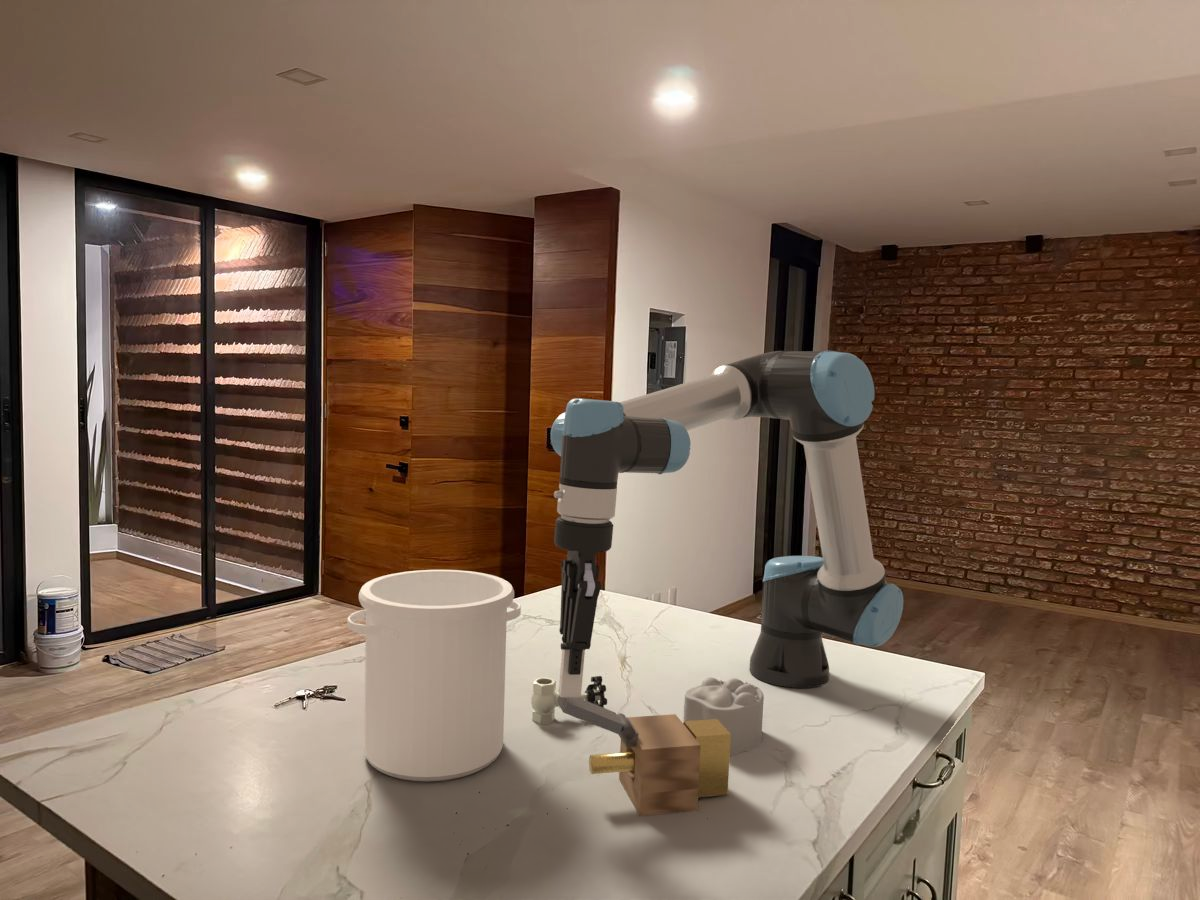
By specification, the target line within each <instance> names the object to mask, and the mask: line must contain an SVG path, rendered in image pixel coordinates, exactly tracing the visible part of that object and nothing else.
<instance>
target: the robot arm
mask: <svg viewBox="0 0 1200 900" xmlns="http://www.w3.org/2000/svg"><path fill="white" fill-rule="evenodd" d="M874 400H875V385H874V381H873V377H872V374H871V372H870V370H869V368H868V367H867V365H866V363H865V362H864V361H863V360H862V359H860V358H858V357H857V355H856V354H855V355H854V354H852V353H849V352H839V351H835V350H823V351H821V350H819V351H817V350H816V351H815V350H813V351H812V350H811V351H808V350H805V351H802V350H801V351H800V350H798V351H796V350H795V351H788V350H787V351H785V350H777V351H776V350H775V351H768V352H765V353H763V352H762V353H761V354H756V355H754V356H750V357H746V358H744V359H740V360H737V361H734V362H729V363H727V364H724V365H721V366H719V367H717V368H715V369H714V370H713V371H712V372H711V374H710V375H708V376H704V377H701V378H698V379H695V380H691V381H686V382H684V383H681V384H677V385H675V386H670V387H667V388H664V389H660V390H657V391H653V392H651V393H648V394H644V395H640V396H636V397H634V398H631V399H627V400H623V401H613V400H612V401H611V400H604V399H603V400H602V399H601V400H600V399H590V398H578V397H577V398H572V399H571V400H569V401H568V402H567V404H566V407H565V411H564V412H562V413H561V414H559V415H558V417H556V418H555V420H554V422H552V423H553V424H552V426H551V428H550V442H551V446H552V449H553V450H554V452H555V453H556V454H557V455H558V456H560V465H559V466H560V468H559V469H560V470H559V479H558V480H559V485H558V488H559V490H555V491H554V492H553V498H555V499H557V505H556V506H557V508H556V512H557V513H558V514H559V515H560V516H558V517H557V518H556V519H555V525H554V536H553V537H554V539H553V543H554V545H555V547H557V548H559V549H561V550H563V551H564V550H565V551H567V554H566V559H563V560H562V561H561V563H560V569H561V593H560V594H561V595H560V618H559V619H560V620H559V622H560V623H559V628H558V629H559V630H558V631H559V634H560V635H561V636H562V637H561V643H560V649H561V659H560V669H559V670H560V672H559V684H558V690H559V695H560V697H581V694H582V690H583V689H582V687H583V676H584V666H585V664H584V663H585V654H586V653H585V652H586V650H590V648H591V644H592V636H593V631H594V623H595V617H596V612H597V604H598V599H599V595H600V592H601V589H602V583H601V581H600V580H597V579H598V578H599V570H600V567H599V564H597V555H598V553H606V552H608V551H610V549H612V545H613V535H614V524H613V522H612V521H611V520H612V519H613V518H614V517H615V515H616V504H617V495H618V478H619V474H623V473H630V474H631V473H633V474H634V473H635V474H637V473H638V474H657V475H663V474H669V473H675V472H677V471H680V470H681V469H682V468H683V467H685V465H686V464H687V462H688V460H689V457H690V454H691V438H690V434H689V433H688V431H689V430H693V429H696V428H699V427H702V426H705V425H708V424H711V423H715V422H717V421H720V420H723V419H725V420H727V421H737V420H741V419H744V418H769V419H770V418H771V419H779V420H786V421H787V420H788V421H789V423H790V428H791V434H792V437H793V439H794V440H796V442H798V443H800V444H801V445H803V449H804V455H805V461H806V466H807V467H806V468H807V472H808V477H809V483H810V491H811V496H812V502H813V508H814V513H815V515H814V516H815V521H816V525H817V532H818V537H819V544H820V549H821V555H822V557H821V556H815V555H814V556H813V555H785V556H779V557H773V558H771V559H769V560H767V562H766V563H765V565H764V575H763V579H762V598H761V599H762V601H761V621H760V622H761V623H760V624H761V625H760V632H759V636H758V638H757V640H756V643H755V645H754V648H753V650H752V653H751V655H750V659H749V673H750V674H751V675H752V676H753V677H755V678H757V679H758V680H760V681H762V682H765V683H767V684H772V685H775V686H779V687H785V688H796V689H804V688H805V689H808V688H816V687H820V686H823V685H825V684H827V682H828V681H829V679H830V666H829V661H828V657H827V654H826V650H825V645H824V642H823V633H824V634H825V635H829V636H832V637H835V638H838V639H842V640H845V641H848V642H852V643H854V644H856V645H863V646H866V647H871V648H876V647H881V646H883V645H884V644H885V643H887V641H888V640H889V639H890V638H892V636H893V635H894V633H895V631H896V630H897V628H898V625H899V624H900V621H901V618H902V614H903V610H904V595H903V592H902V590H901V588H900V587H898V586H897V585H895V584H894V583H891V582H890V583H888V582H887V578H886V570H885V567H884V565H883V564H882V563H881V561H879V560H878V559H875V557H874V551H873V545H872V538H871V531H870V524H869V518H868V513H867V511H868V509H867V504H866V498H865V491H864V483H863V478H862V477H863V476H862V471H861V465H860V464H861V463H860V458H859V452H858V444H857V436H858V435H859V434H860V432H862V430H863V428H864V422H865V421H867V420H868V418H869V417H870V415H871V413H872V411H873V408H874V405H873V404H872V402H874Z"/></svg>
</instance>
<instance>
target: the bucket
mask: <svg viewBox="0 0 1200 900" xmlns="http://www.w3.org/2000/svg"><path fill="white" fill-rule="evenodd" d="M514 598H515V590H514V587H513V586H512V584H511V583H510V582H509V581H507V580H505V579H504V578H502V577H499V576H497V575H494V574H488V573H483V572H477V571H470V570H461V569H459V570H458V569H425V570H424V569H421V570H420V569H419V570H412V571H411V570H409V571H403V572H402V571H401V572H397V573H396V572H395V573H391V574H387V575H382V576H379V577H376V578H373V579H371V580H369V581H366V582H365V583H364V584H363V585H362V586H361V588H360V589H359V593H358V601H359V604H360V605H361V607H362V608H364V609H361V610H358V611H357V610H356V611H355V612H352V613H350V614H349V615H348V617H347V626H346V627H347V629H348V630H350V631H352V632H354V633H355V634H360V635H364V636H365V649H364V652H365V654H364V655H365V657H364V658H365V659H364V725H363V726H364V727H363V728H364V729H363V731H364V732H363V733H364V734H363V741H364V742H363V751H364V755H365V757H366V760H367V762H368V763H369V764H370V766H371V767H373V769H375V770H377V771H379V772H380V773H382V774H384V775H387V776H388V777H392V778H395V779H399V780H404V781H411V782H424V783H426V782H429V783H431V782H442V781H449V780H456V779H460V778H464V777H467V776H469V775H473V774H474V773H477V772H479V771H481V770H483V769H485V768H487V767H488V766H489V765H491V764H493V763H494V761H496V760H497V758H498V757H499V755H500V754H501V751H502V748H503V746H504V729H505V728H504V726H505V725H504V724H505V694H506V693H505V692H506V691H505V689H506V687H505V686H506V658H507V657H506V656H507V654H506V652H507V624H508V623H507V622H508V621H509V622H510V621H512V620H515V619H517V618H519V617H520V616H521V613H522V608H521V607H522V606H521V604H520V603H519V602H517V601H515V600H514ZM509 608H510V609H512V610H510V611H508V609H509ZM364 619H365V624H362V623H356V622H358V621H360V620H364Z"/></svg>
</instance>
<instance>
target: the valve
mask: <svg viewBox="0 0 1200 900" xmlns="http://www.w3.org/2000/svg"><path fill="white" fill-rule="evenodd" d="M590 682H592V683H591V684H588V685H587V686H586V689H585V691H584V693H581V697H578V698H580V699H583V700H585V701H588V702H590V703H593V704H595V705H598V706H600V707H603V708H605V706H607V705H608V698H607V697H605V692H606V691H607V686H606V684H602V683H603V676H602V675H597V676H596V675H595V676H591V677H590ZM556 685H557V680H556V679H553V678H550V677H539V678H538V677H537V678H536V679H535V680H534V681H533V690H532V692H533V693H532V696H531V700H530V703H531V708H532V709H533V710H532V711H531V714H532V718H531V721H532V722H534V723H536V724H539V725H546V724H552V723H553V721H554V720H555V712H556V708H557V707H558V708H559V709H561V707H560V705H559V703H558V701H557V699H558V697H559V689H558V690H557V689H556V688H557V686H556ZM556 690H557V692H556Z"/></svg>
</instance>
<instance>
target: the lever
mask: <svg viewBox="0 0 1200 900" xmlns="http://www.w3.org/2000/svg"><path fill="white" fill-rule="evenodd" d="M557 701H558V703H559V705H560V707H561V708H560V709H561V711H562V713H564V714H566V715H568V716H571V717H573V718H576V719H579V720H581V721H584V722H587V723H589V724H591V725H594V726H597V727H599V728H601V729H604V730H606V731H609V732H612V733H614V734H617V735H618V734H619V733H620V731H621V729H622V727H623V723H622V722H621V720H620V719H619V717H618V716H617V714H618V713H617V712H615V711H612V710H610V709H607V708H606V707H604V708H603V707H600V706H598V705H595V704H593V703H590V702H588V701H585V700H583V699H580V698H578V697H560V695H559V697H558V699H557Z"/></svg>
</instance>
